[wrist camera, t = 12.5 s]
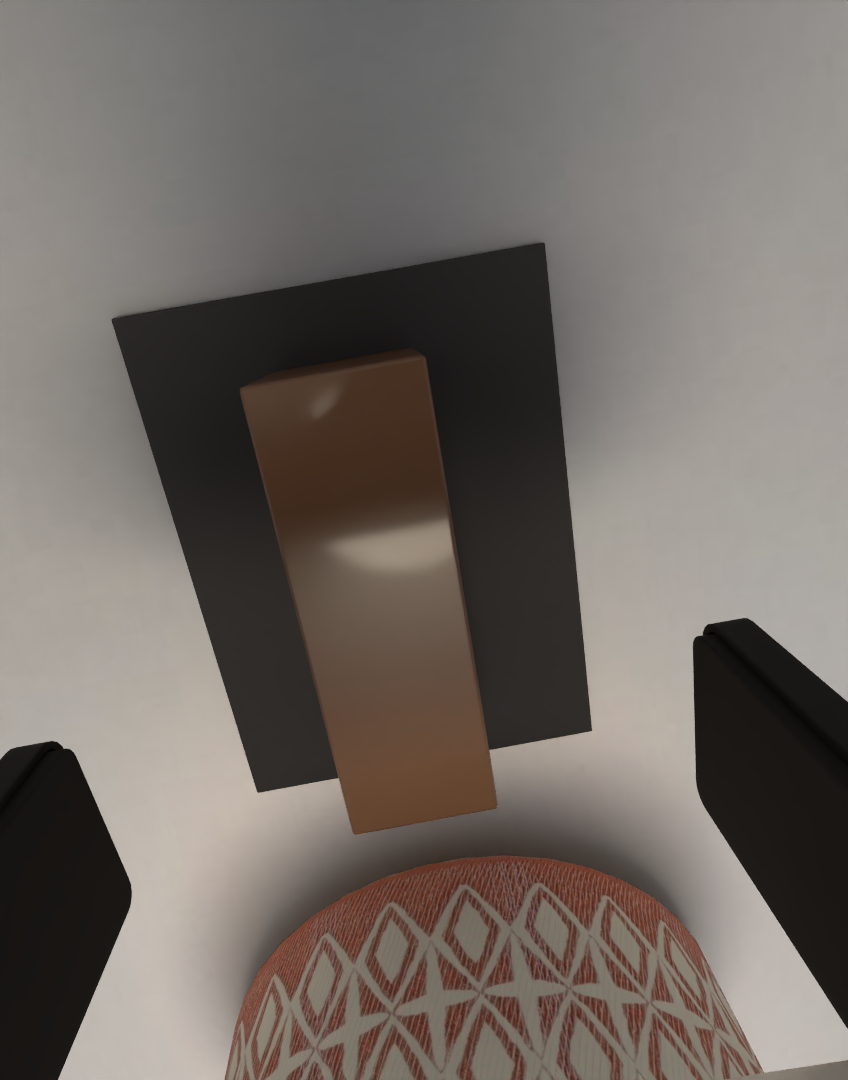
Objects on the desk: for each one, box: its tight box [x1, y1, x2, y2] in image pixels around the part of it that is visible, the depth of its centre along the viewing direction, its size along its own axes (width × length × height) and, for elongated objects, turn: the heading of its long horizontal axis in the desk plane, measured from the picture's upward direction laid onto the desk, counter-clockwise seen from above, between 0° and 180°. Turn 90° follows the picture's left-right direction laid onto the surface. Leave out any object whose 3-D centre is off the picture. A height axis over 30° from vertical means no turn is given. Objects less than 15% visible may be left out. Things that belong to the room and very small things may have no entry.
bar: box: [240, 347, 498, 835], centre depth 18 cm, size 12×4×5 cm, turn 10°
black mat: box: [112, 243, 592, 793], centre depth 20 cm, size 16×12×1 cm
